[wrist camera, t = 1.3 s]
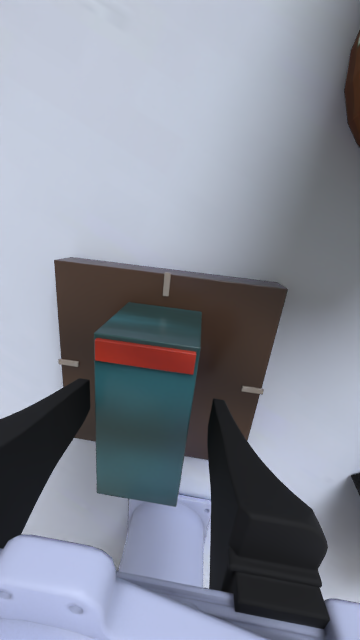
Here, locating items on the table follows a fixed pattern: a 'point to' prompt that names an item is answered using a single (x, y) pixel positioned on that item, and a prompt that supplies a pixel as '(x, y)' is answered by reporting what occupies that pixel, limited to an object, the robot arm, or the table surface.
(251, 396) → the clock
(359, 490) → the digital camera
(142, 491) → the teal block red stripe
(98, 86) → the table surface
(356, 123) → the food container
